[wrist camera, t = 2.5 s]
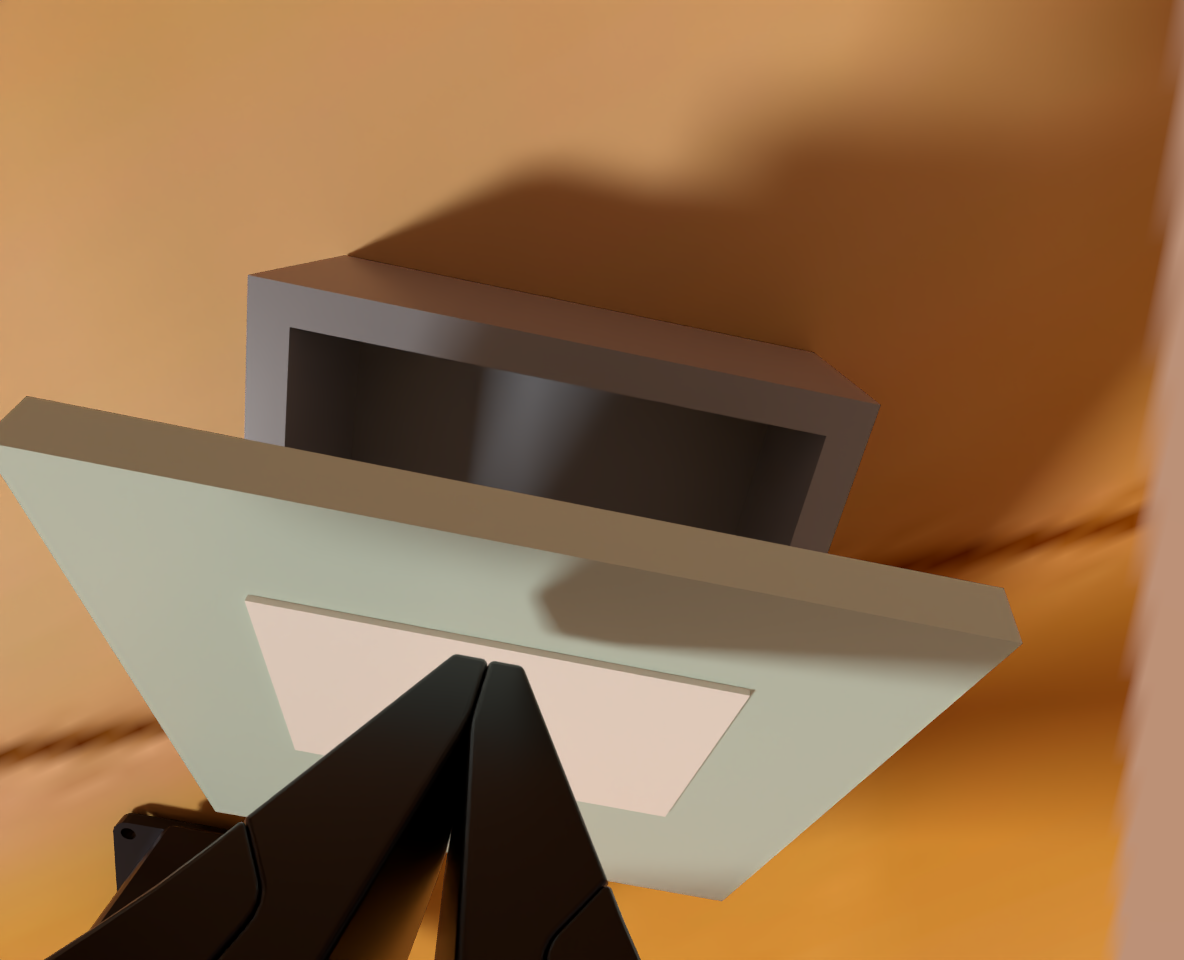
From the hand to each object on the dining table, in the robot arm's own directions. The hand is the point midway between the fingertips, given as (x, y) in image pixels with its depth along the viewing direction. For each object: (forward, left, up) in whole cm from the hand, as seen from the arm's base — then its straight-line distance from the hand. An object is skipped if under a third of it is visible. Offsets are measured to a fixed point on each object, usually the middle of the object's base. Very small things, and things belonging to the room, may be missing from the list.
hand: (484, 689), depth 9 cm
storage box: (-3, 0, -11) cm, 12 cm away
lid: (-3, 0, -4) cm, 5 cm away
